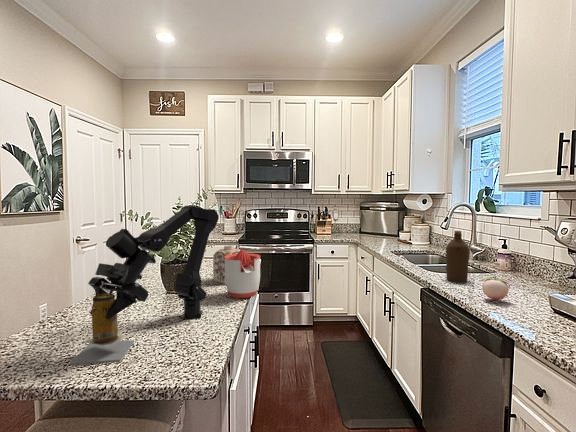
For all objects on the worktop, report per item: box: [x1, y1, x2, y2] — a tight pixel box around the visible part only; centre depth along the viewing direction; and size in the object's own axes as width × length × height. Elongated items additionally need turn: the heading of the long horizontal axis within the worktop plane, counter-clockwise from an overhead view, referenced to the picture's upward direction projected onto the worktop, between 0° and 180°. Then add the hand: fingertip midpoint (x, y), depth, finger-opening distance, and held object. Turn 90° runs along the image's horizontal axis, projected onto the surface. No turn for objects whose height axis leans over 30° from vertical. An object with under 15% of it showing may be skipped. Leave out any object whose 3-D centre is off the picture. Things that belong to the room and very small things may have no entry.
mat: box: [69, 339, 135, 366], centre depth 92 cm, size 12×12×1 cm
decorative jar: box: [212, 244, 241, 285], centre depth 170 cm, size 12×12×18 cm
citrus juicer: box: [224, 248, 261, 299], centre depth 145 cm, size 16×17×20 cm
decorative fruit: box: [481, 276, 510, 302], centre depth 136 cm, size 9×8×10 cm
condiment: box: [84, 293, 130, 346], centre depth 91 cm, size 7×8×12 cm
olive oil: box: [445, 230, 470, 283], centre depth 170 cm, size 11×11×25 cm
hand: (99, 316), depth 90 cm, fingers closed on condiment, 6 cm apart
